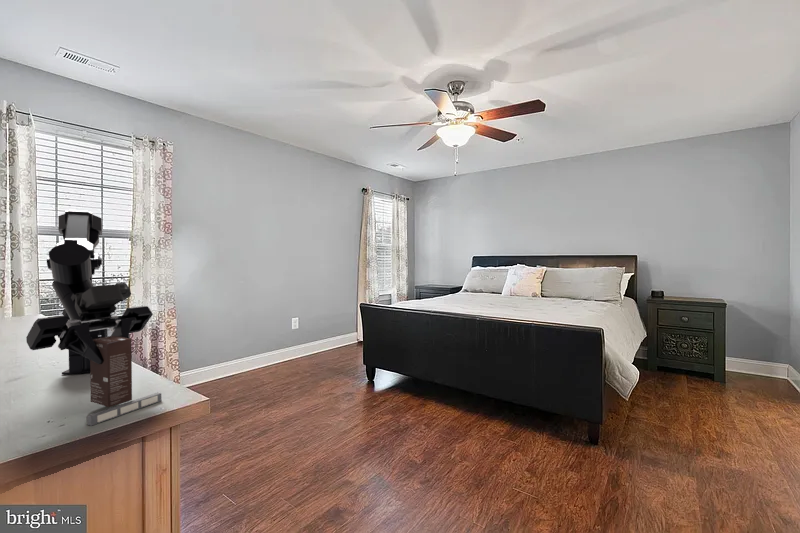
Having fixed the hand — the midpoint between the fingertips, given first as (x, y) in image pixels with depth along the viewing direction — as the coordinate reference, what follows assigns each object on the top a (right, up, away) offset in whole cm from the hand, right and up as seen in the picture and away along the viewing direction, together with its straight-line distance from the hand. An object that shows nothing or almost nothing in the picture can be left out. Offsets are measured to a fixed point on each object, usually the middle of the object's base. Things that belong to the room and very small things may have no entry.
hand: (115, 359), depth 70 cm
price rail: (+3, -9, -1) cm, 10 cm away
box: (-1, -8, +1) cm, 9 cm away
